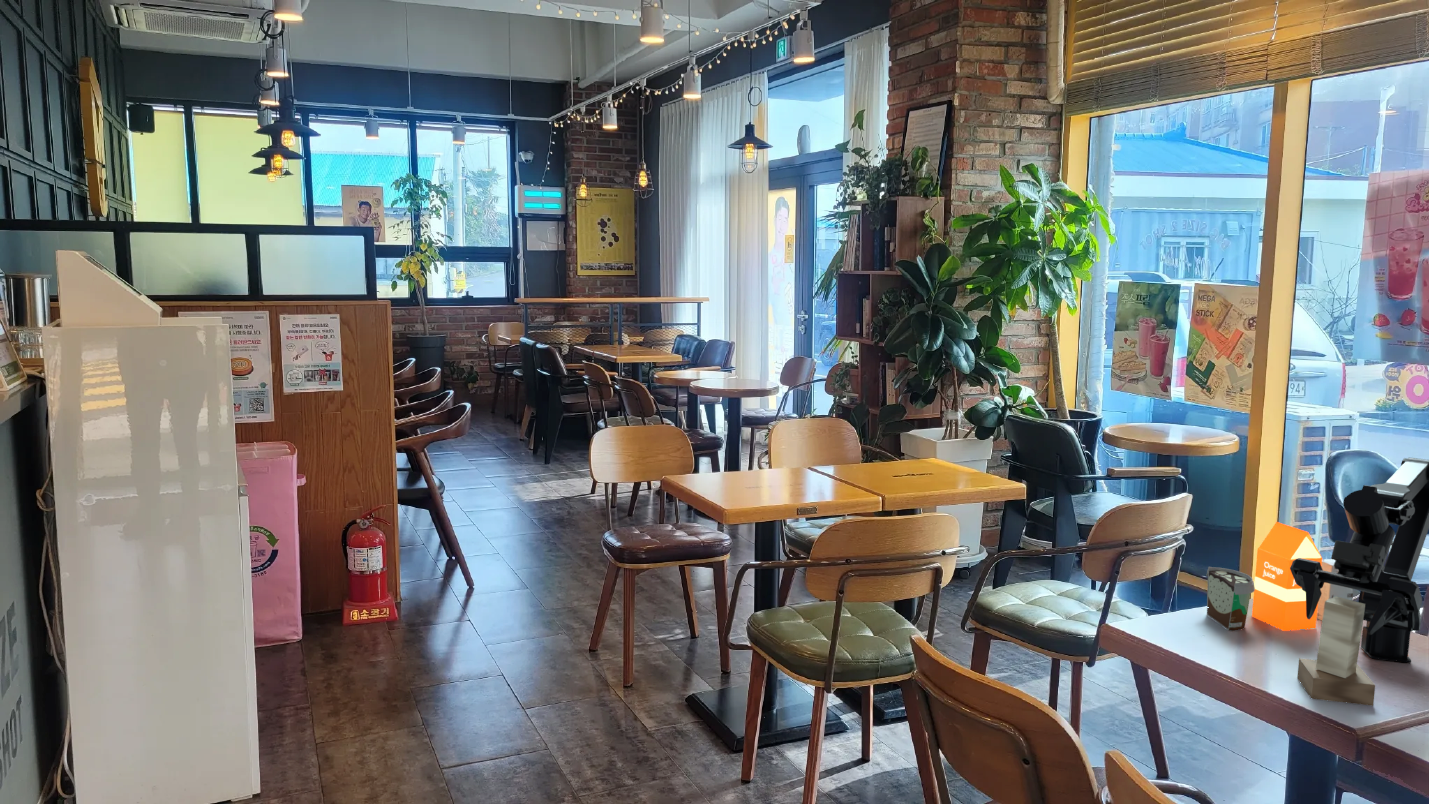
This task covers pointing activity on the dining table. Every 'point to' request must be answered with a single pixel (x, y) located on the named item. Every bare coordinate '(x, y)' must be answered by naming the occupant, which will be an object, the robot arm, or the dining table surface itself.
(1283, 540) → the orange juice
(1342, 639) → the birch pillar
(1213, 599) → the food container
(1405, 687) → the dining table surface
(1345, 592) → the skincare box
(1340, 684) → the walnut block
